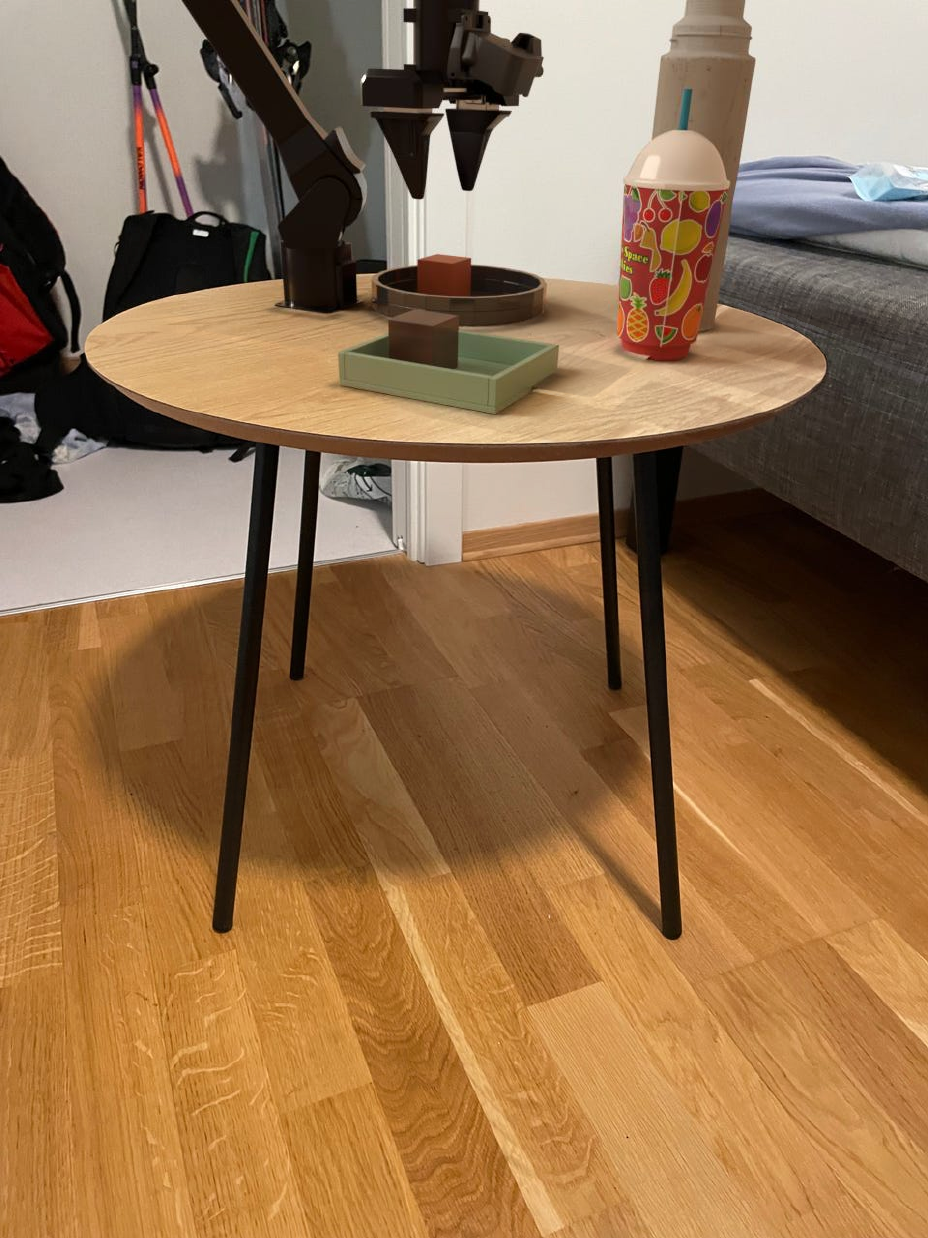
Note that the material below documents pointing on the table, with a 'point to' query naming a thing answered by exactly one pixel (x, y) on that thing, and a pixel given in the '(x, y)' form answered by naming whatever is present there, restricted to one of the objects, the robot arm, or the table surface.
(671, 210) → the smoothie
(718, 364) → the table surface
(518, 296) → the pan
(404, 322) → the walnut block
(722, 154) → the thermos bottle
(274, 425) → the table surface
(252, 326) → the table surface
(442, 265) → the terracotta block
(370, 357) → the tray
